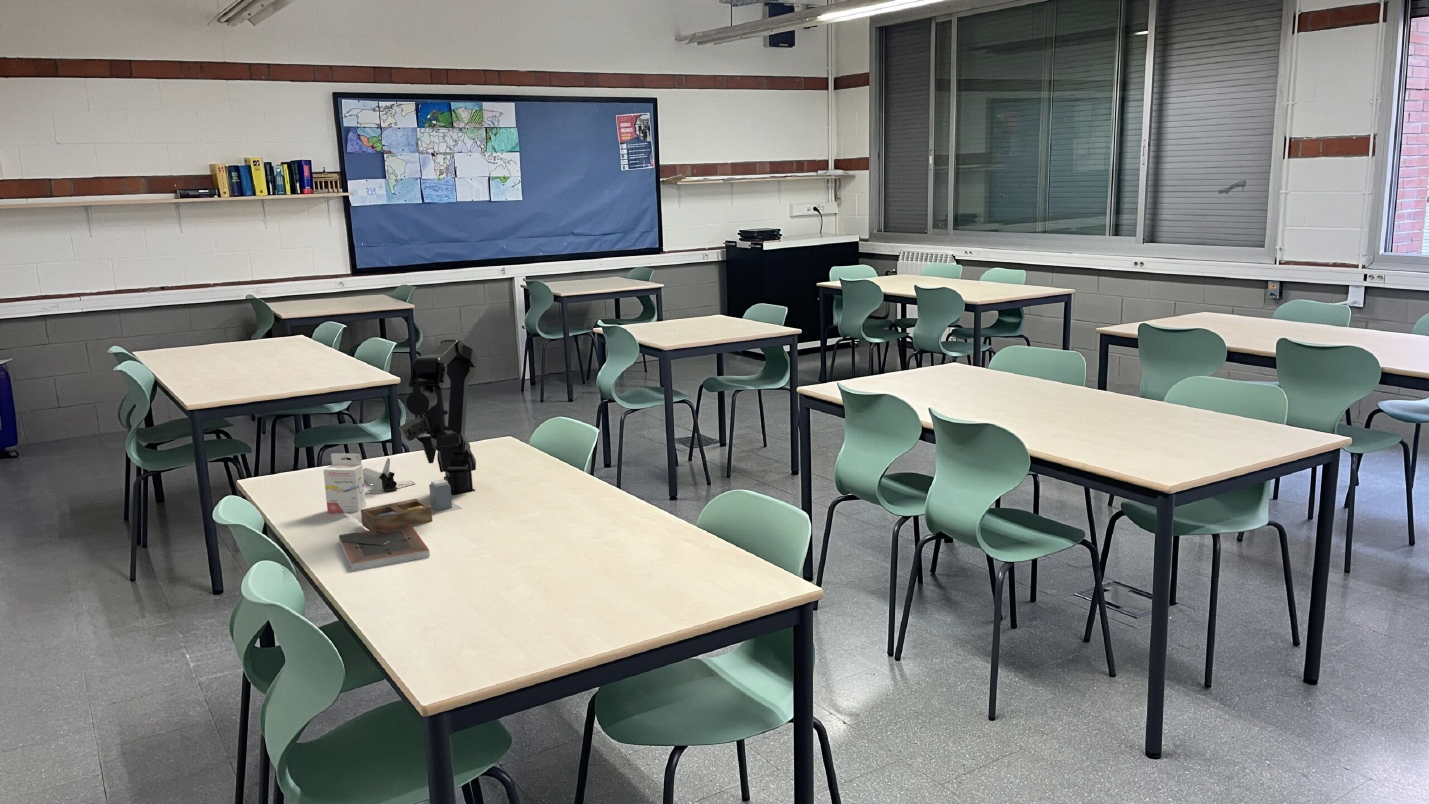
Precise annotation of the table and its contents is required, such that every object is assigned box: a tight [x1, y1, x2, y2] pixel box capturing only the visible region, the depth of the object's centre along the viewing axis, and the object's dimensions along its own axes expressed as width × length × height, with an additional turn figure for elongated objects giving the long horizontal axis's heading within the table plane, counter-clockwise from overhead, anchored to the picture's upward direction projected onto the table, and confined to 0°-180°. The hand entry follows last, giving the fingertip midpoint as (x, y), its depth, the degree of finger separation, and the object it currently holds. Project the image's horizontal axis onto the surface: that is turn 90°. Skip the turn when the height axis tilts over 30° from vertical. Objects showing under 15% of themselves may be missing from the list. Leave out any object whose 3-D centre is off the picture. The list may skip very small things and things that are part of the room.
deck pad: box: [429, 502, 463, 516], centre depth 261 cm, size 8×8×1 cm
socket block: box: [360, 498, 433, 531], centre depth 250 cm, size 14×10×4 cm
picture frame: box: [338, 524, 431, 572], centre depth 233 cm, size 16×2×22 cm
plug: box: [428, 478, 452, 511], centre depth 260 cm, size 4×4×7 cm
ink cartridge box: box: [323, 453, 367, 514], centre depth 261 cm, size 9×5×15 cm, turn 84°
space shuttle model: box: [363, 457, 416, 495], centre depth 287 cm, size 16×25×10 cm, turn 38°
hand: (437, 466), depth 259 cm, fingers open, 9 cm apart
